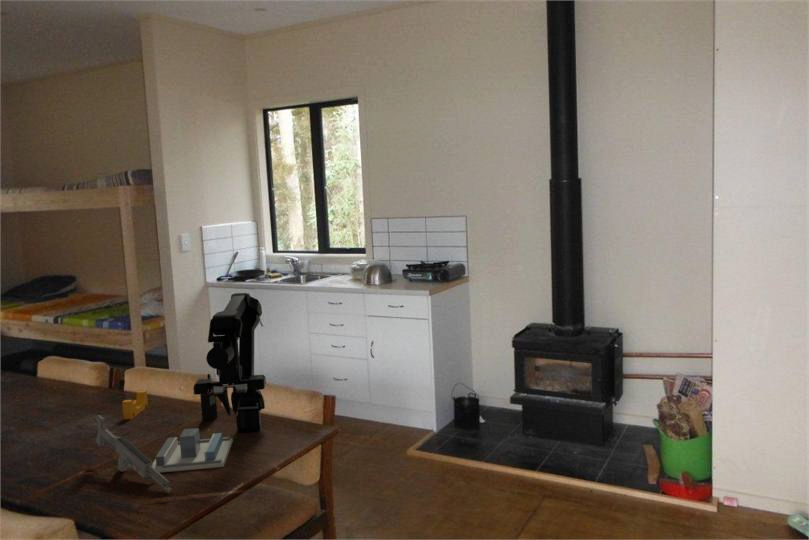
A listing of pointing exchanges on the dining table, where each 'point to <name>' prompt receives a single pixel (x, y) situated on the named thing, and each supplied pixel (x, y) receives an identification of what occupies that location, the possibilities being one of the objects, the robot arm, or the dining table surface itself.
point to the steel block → (190, 443)
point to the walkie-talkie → (208, 405)
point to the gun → (130, 455)
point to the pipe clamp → (135, 405)
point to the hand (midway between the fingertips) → (232, 414)
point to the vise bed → (172, 459)
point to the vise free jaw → (213, 446)
